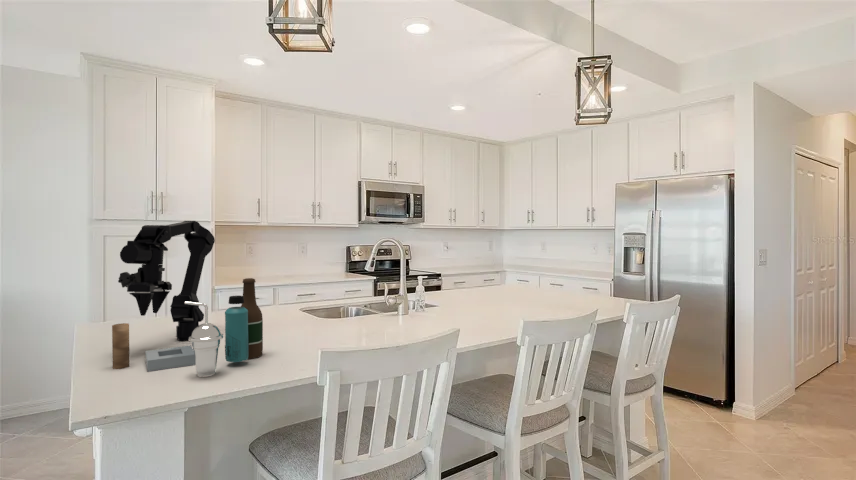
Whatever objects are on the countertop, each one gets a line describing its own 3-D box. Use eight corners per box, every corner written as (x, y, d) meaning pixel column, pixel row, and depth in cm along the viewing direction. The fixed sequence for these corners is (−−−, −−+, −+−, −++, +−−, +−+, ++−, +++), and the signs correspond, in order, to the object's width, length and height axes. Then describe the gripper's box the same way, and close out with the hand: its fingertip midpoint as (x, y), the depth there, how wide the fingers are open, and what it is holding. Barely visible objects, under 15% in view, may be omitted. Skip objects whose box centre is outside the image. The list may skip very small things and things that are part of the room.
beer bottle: (268, 354, 144) (267, 278, 144) (249, 360, 137) (248, 280, 137) (249, 351, 148) (249, 276, 147) (230, 357, 141) (229, 279, 140)
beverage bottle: (253, 362, 136) (253, 294, 135) (237, 368, 130) (237, 297, 129) (236, 360, 138) (235, 293, 138) (219, 366, 132) (218, 296, 131)
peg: (129, 363, 134) (128, 322, 133) (129, 367, 130) (129, 325, 130) (112, 366, 131) (112, 324, 131) (112, 369, 128) (111, 326, 128)
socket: (190, 354, 143) (190, 345, 143) (195, 364, 133) (195, 354, 133) (145, 360, 137) (145, 350, 137) (147, 371, 127) (147, 360, 127)
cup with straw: (210, 380, 120) (210, 303, 119) (179, 378, 121) (178, 302, 121) (230, 370, 128) (229, 298, 128) (200, 368, 130) (200, 297, 129)
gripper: (137, 264, 154) (134, 311, 153) (109, 263, 135) (105, 316, 134) (173, 265, 156) (170, 311, 154) (150, 264, 137) (147, 317, 136)
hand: (149, 314), depth 145 cm, fingers open, 9 cm apart
